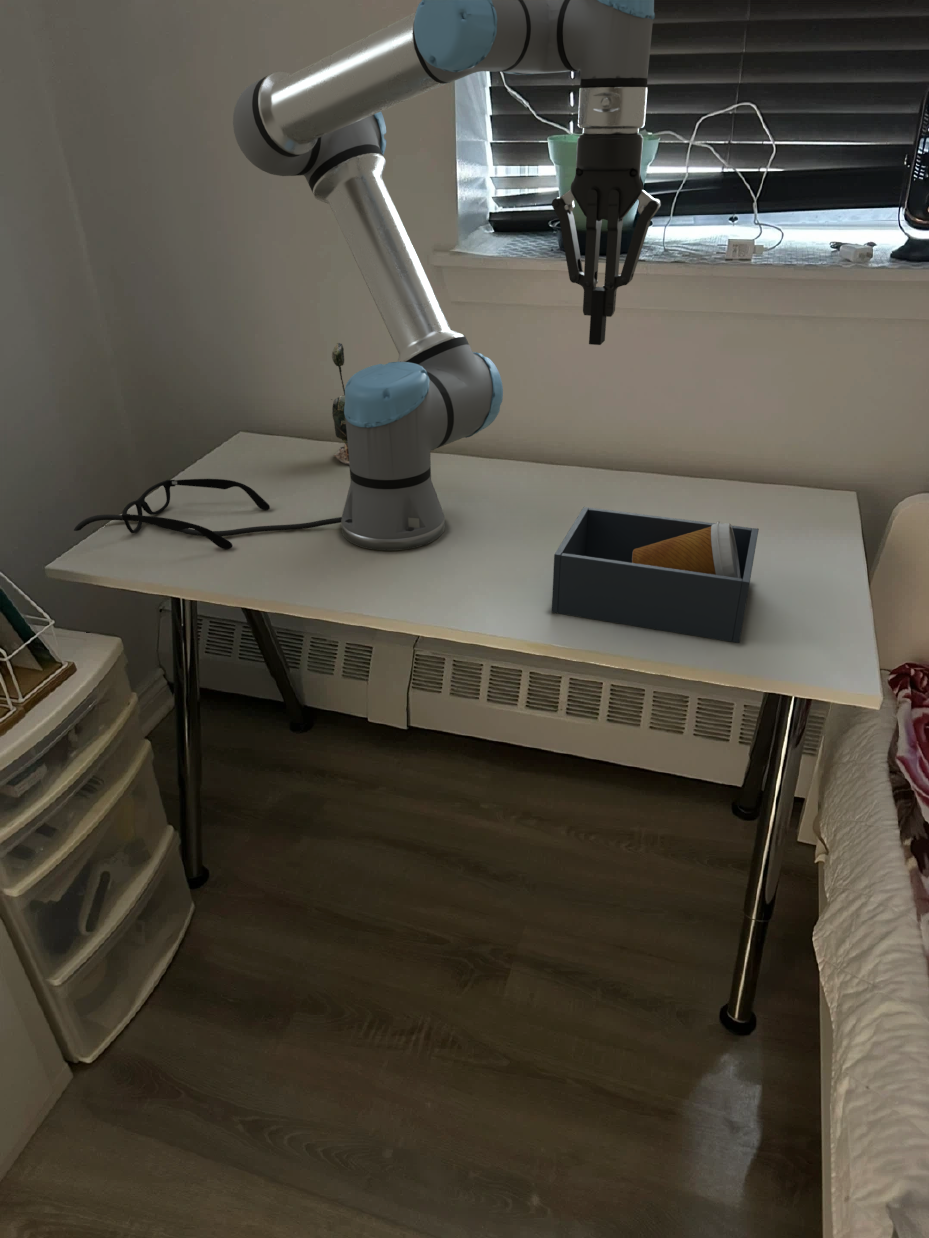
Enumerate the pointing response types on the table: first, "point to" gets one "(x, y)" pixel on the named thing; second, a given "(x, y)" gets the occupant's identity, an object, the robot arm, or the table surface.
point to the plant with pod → (340, 408)
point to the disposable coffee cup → (695, 552)
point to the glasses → (182, 525)
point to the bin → (647, 577)
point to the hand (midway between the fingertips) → (596, 342)
